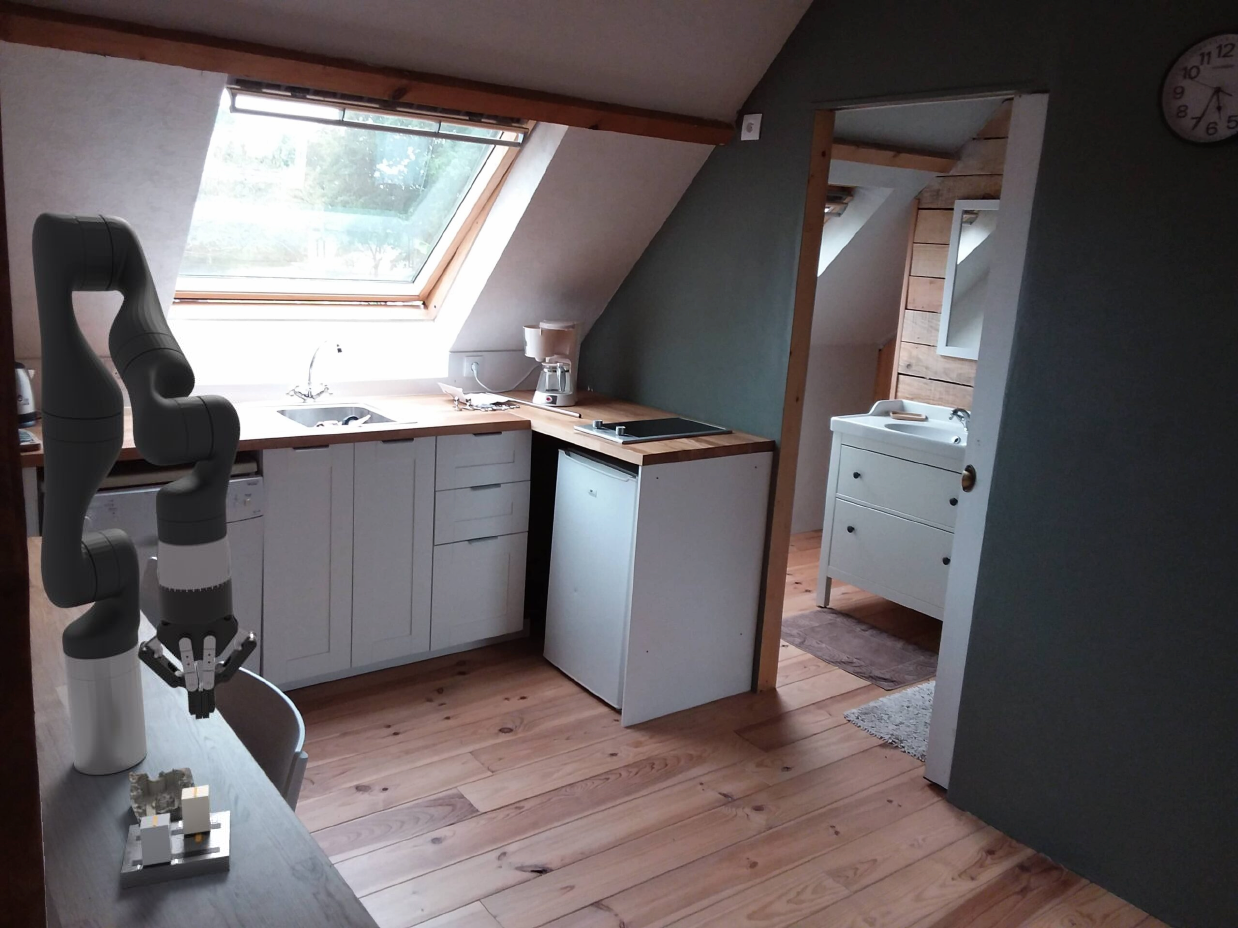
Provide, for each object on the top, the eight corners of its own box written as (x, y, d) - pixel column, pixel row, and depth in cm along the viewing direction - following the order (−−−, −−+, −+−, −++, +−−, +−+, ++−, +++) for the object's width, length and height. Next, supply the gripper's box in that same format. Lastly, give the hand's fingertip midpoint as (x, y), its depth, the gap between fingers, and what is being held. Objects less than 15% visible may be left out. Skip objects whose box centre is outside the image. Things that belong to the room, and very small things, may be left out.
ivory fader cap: (184, 823, 123) (182, 788, 122) (211, 819, 124) (209, 784, 123) (183, 834, 121) (181, 798, 119) (210, 830, 122) (208, 794, 120)
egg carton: (128, 797, 131) (126, 769, 131) (190, 783, 135) (188, 756, 134) (135, 840, 122) (133, 810, 122) (201, 824, 126) (199, 795, 125)
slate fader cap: (144, 852, 117) (141, 816, 116) (172, 848, 118) (169, 812, 117) (142, 865, 115) (139, 828, 113) (171, 860, 116) (168, 823, 114)
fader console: (131, 839, 123) (129, 824, 122) (230, 824, 127) (229, 809, 126) (122, 887, 114) (121, 872, 114) (229, 869, 118) (228, 854, 118)
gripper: (258, 558, 116) (263, 694, 120) (132, 566, 111) (142, 707, 115) (258, 581, 109) (264, 724, 113) (125, 591, 104) (135, 739, 109)
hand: (202, 715), depth 114 cm, fingers closed
